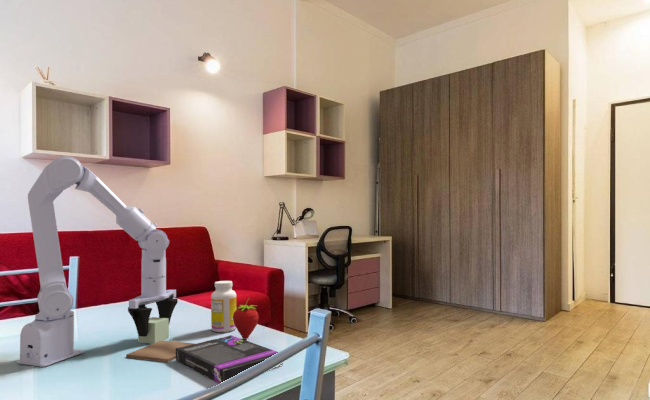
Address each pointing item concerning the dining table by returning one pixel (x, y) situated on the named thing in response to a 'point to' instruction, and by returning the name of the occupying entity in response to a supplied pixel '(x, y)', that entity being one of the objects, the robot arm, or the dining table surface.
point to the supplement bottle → (223, 307)
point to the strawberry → (245, 319)
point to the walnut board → (158, 351)
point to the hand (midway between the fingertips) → (153, 331)
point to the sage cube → (156, 330)
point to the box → (222, 357)
